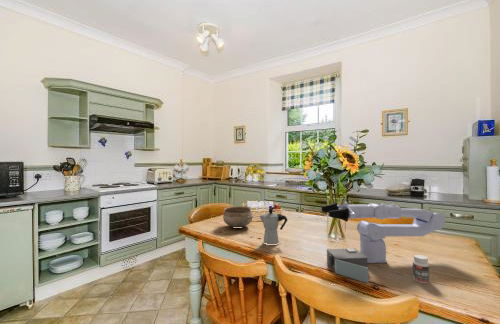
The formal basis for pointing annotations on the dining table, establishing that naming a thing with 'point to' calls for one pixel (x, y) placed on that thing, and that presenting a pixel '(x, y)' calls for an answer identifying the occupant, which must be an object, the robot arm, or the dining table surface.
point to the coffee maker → (272, 226)
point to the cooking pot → (237, 216)
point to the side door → (351, 270)
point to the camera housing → (346, 256)
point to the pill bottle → (420, 269)
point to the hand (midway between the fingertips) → (325, 211)
